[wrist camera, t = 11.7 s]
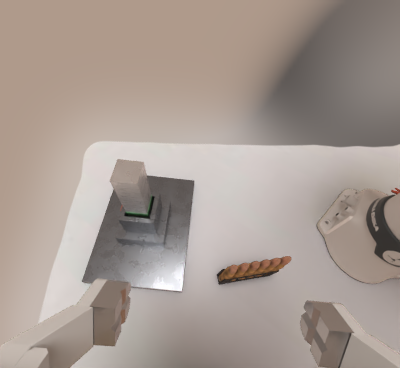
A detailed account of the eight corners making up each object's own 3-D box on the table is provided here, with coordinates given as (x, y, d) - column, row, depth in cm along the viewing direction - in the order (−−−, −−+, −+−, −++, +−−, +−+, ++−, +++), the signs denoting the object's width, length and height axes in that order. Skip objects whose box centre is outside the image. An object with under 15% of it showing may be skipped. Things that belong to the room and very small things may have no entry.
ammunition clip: (267, 265, 44) (293, 250, 33) (270, 275, 43) (298, 262, 33) (216, 274, 42) (228, 260, 32) (218, 284, 41) (231, 274, 31)
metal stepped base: (120, 176, 52) (109, 148, 44) (193, 184, 53) (196, 158, 44) (84, 282, 39) (58, 273, 31) (181, 292, 40) (182, 285, 31)
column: (135, 205, 42) (117, 158, 29) (154, 207, 42) (144, 161, 30) (131, 222, 40) (109, 181, 28) (150, 224, 40) (137, 184, 28)
